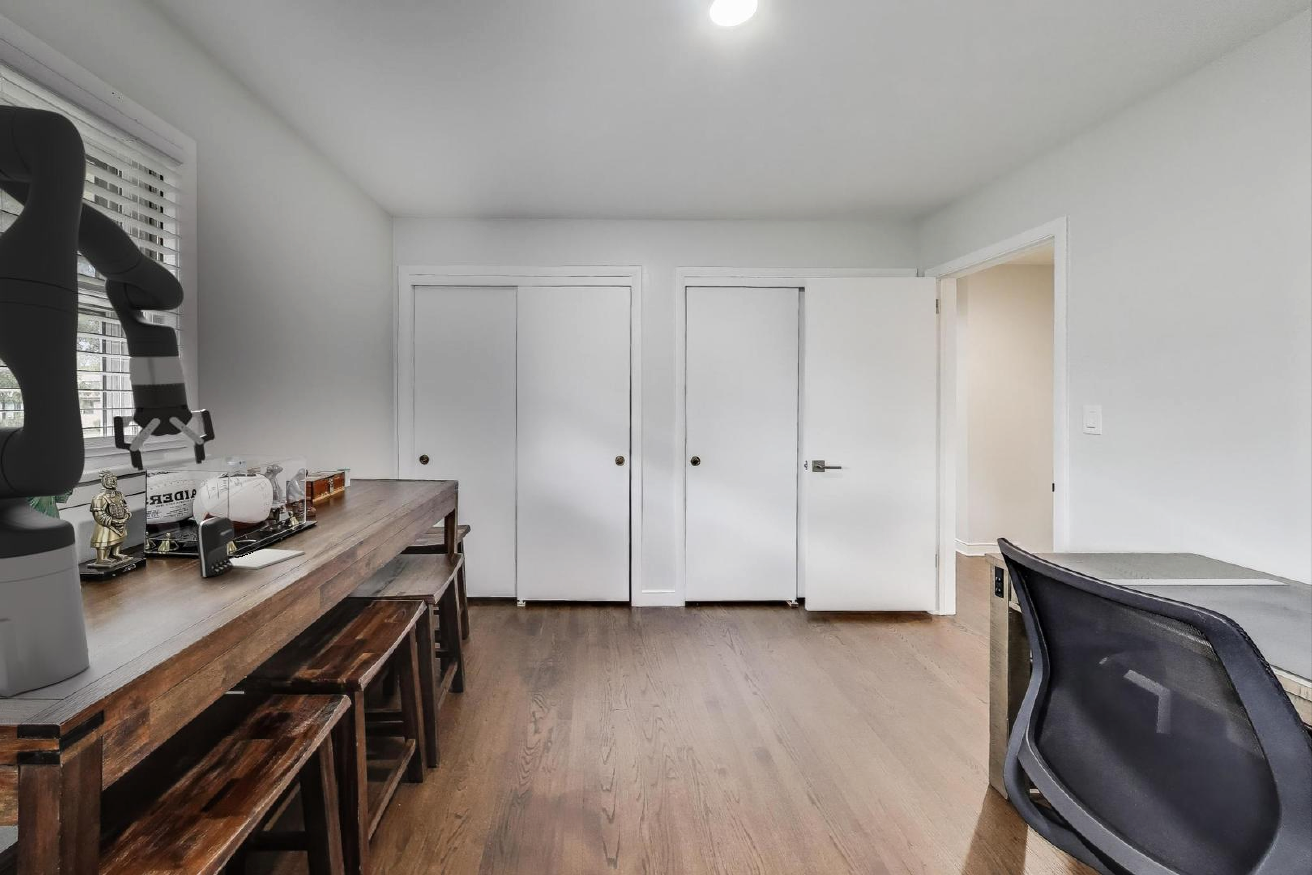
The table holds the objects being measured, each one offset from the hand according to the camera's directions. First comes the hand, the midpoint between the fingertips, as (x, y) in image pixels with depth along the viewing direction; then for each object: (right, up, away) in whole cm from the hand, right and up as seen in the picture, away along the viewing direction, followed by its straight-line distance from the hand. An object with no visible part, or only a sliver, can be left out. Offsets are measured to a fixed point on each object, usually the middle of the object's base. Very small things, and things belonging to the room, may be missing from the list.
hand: (170, 466), depth 108 cm
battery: (+1, -23, +11) cm, 25 cm away
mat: (+4, -22, +19) cm, 30 cm away
